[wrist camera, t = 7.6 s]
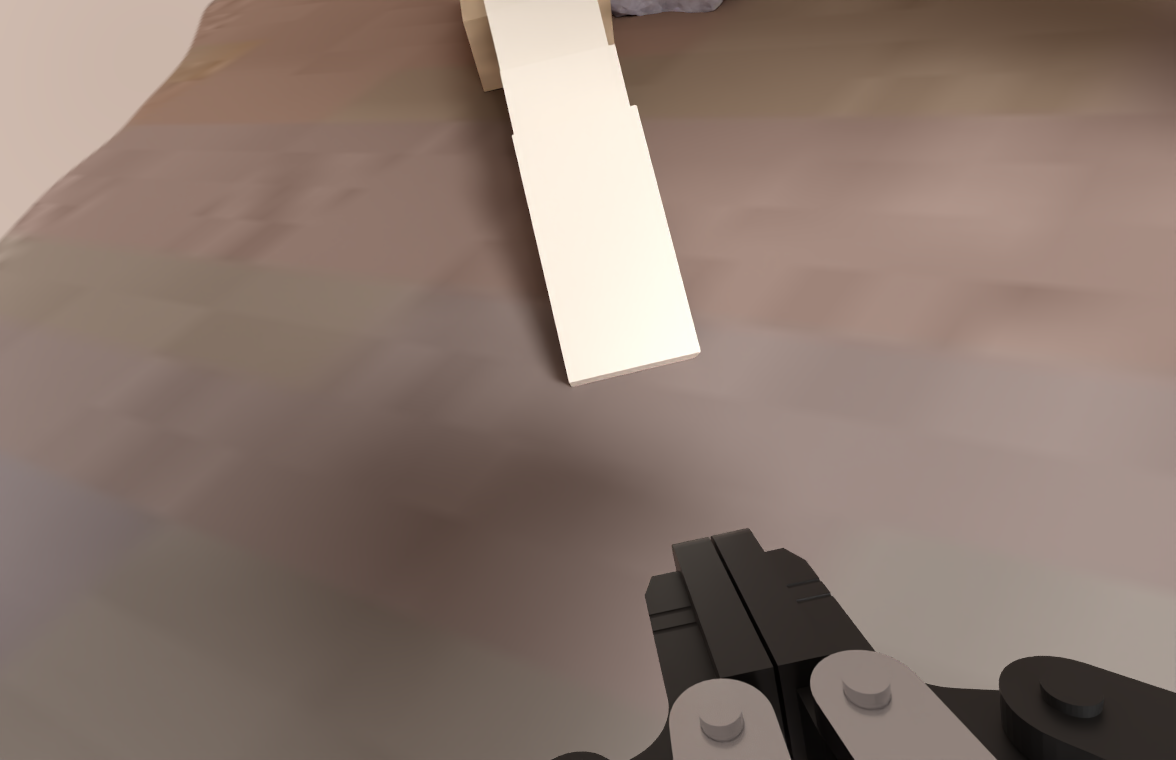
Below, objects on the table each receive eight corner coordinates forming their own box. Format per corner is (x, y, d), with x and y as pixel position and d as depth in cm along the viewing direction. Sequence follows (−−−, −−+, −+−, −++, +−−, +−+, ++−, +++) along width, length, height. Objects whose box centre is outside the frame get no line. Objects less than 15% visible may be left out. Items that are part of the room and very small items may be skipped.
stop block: (589, -5, 38) (581, -76, 35) (615, 60, 34) (609, -14, 30) (473, 23, 38) (453, -45, 35) (484, 91, 34) (462, 21, 31)
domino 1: (540, 234, 27) (492, 33, 28) (642, 209, 27) (593, 8, 28) (537, 225, 26) (486, 11, 26) (645, 198, 26) (593, -15, 26)
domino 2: (554, 305, 25) (506, 93, 26) (665, 279, 25) (614, 67, 26) (550, 297, 23) (499, 71, 24) (670, 269, 23) (614, 44, 24)
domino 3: (571, 387, 23) (518, 155, 24) (694, 357, 23) (634, 127, 24) (569, 382, 21) (511, 134, 22) (700, 351, 21) (636, 104, 22)
